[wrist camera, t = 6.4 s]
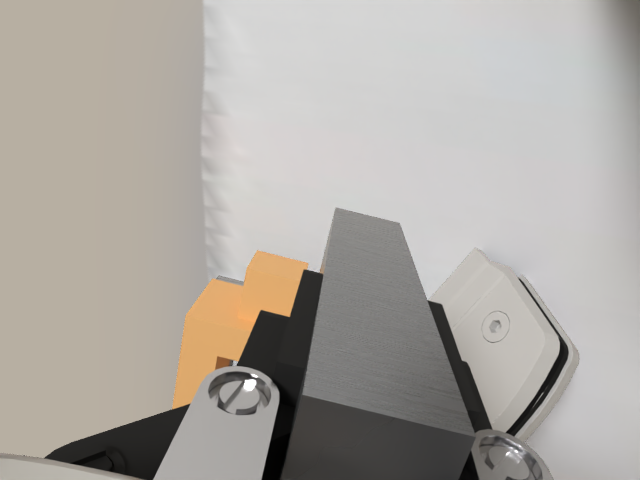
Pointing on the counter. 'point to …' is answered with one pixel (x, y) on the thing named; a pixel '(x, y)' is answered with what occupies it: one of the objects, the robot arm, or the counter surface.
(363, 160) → the counter surface
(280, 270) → the bracket
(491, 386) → the white curved casing
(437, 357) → the grey rectangular bar
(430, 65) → the counter surface
